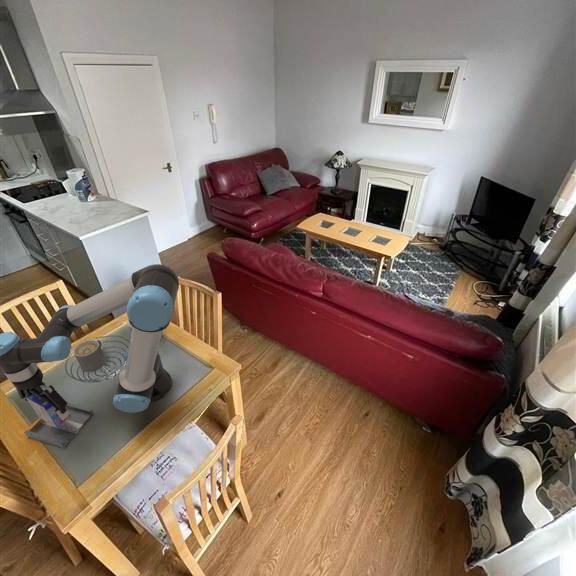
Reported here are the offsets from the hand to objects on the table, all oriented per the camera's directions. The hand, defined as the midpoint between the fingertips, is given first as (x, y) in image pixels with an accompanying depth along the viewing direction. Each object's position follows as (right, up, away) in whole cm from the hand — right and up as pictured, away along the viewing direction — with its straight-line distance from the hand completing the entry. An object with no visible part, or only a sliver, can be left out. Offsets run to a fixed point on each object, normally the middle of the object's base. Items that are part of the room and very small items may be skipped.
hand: (53, 413), depth 110 cm
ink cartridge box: (0, -2, +1) cm, 2 cm away
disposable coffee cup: (+14, +19, +42) cm, 48 cm away
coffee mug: (-3, +12, +30) cm, 33 cm away
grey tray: (0, -6, +4) cm, 8 cm away
